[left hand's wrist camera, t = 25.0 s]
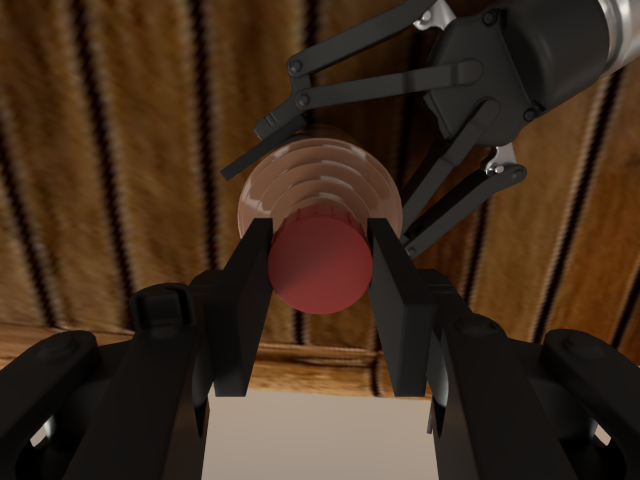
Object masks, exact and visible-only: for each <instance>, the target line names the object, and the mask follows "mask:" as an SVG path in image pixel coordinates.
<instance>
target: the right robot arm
mask: <svg viewBox="0 0 640 480" xmlns="http://www.w3.org/2000/svg"><path fill="white" fill-rule="evenodd" d="M409 27H410V28H411V29H412V30H413V31H414V32H415V33H422V32H424V31H426V30H428V29H433V30H435V31H436V32H437V33H438V35H437V37H436V39H435V42H434V44H433V46H432V49H431V51H430V53H429V56H428V58H427V60H426V63H425V65H424V67H423V68H422V69H416V70H411V71H406V72H401V73H396V74H390V75H384V76H378V77H372V78H366V79H360V80H354V81H348V82H342V83H336V84H330V85H325V86H319V87H313V88H312V85H311V81H310V77H309V76H311V75H313V74H315V73H317V72H319V71H322V70H324V69H326V68H328V67H330V66H333V65H335V64H337V63H339V62H341V61H343V60H346V59H348V58H350V57H352V56H354V55H356V54H359V53H361V52H363V51H365V50H367V49H370V48H372V47H374V46H376V45H378V44H380V43H383V42H385V41H387V40H389V39H391V38H393V37H395V36H397V35H399V34H401V33H402V32H404V31H405V30H406V29H408V28H409ZM639 56H640V0H495V1H494V2H492V3H491V4H489V5H488V6H486V7H485V8H484V9H482V10H481V11H479V12H478V13H476V14H474V15H471V16H462V17H458V18H456V16H455V15H454V13H453V12H452V10H451V9H450V7H449V6H448V4H447V3H446V1H445V0H406V1H405V2H404V3H403V4H401V5H399V6H397V7H395V8H392V9H390V10H388V11H386V12H384V13H382V14H380V15H378V16H375V17H373V18H371V19H369V20H367V21H365V22H363V23H361V24H359V25H356V26H354V27H352V28H350V29H348V30H346V31H344V32H342V33H339V34H337V35H335V36H333V37H331V38H329V39H327V40H325V41H322V42H320V43H318V44H316V45H314V46H312V47H310V48H308V49H306V50H303V51H301V52H299V53H297V54H295V55H293V56H291V57H290V58H289V59H288V61H287V71H288V73H289V77H290V81H291V85H292V93H291V96H290V97H289V99H288V100H286V101H285V102H284V103H282V104H281V105H280V106H278V107H277V108H276V109H274V110H273V111H271V112H270V113H269V114H267V115H266V116H265V117H263V118H262V119H261V120H259V121H258V122H257V123H256V125H255V127H254V128H253V130H254V131H255V133H256V134H257V135H258V137H259V138H260V140H261V141H262V142H261V143H259V144H258V145H256V146H255V147H254V148H252V149H251V150H249V151H248V152H247V153H245V154H244V155H242V156H241V157H240V158H238V159H237V160H235V161H234V162H233V163H231V164H230V165H228V166H227V167H226V168H224V169H223V170H222V171H220V173H221V174H222V176H223V177H224V178H225V180H226V181H228V180H229V179H231V178H232V177H234V176H235V175H236V174H238V173H239V172H241V171H242V170H244V169H245V168H246V167H248V166H249V165H251V164H252V163H253V162H255V161H256V160H258V159H259V158H261V157H262V156H263V155H265V154H266V153H268V152H269V151H270V150H272V149H273V148H275V147H276V146H278V145H279V144H280V143H282V142H283V141H284V140H286V139H288V138H289V137H290V136H292V135H293V134H295V133H296V132H297V131H299V130H300V129H302V128H303V127H305V126H306V125H307V124H308V121H307V119H306V118H305V116H304V115H303V113H305V112H306V111H307V110H309V109H314V108H320V107H327V106H333V105H339V104H345V103H351V102H357V101H363V100H369V99H375V98H381V97H387V96H393V95H399V94H405V93H411V92H416V97H415V99H416V101H417V103H418V105H419V107H420V108H421V109H422V110H423V111H424V112H425V113H426V114H427V116H428V119H429V124H430V128H431V130H432V132H433V134H434V136H435V137H437V138H436V140H435V141H434V143H433V144H432V145H431V147H430V149H429V152H428V155H427V156H426V157H425V159H424V160H423V162H422V163H421V164H420V166H419V167H418V169H417V170H416V172H415V173H414V174H413V176H412V177H411V179H410V180H409V181H408V183H407V184H406V186H405V187H404V188H403V190H402V191H401V193H400V194H399V195H400V198H401V204H402V213H403V221H402V230H401V234H400V238H399V240H400V242H401V244H402V245H403V247H404V249H405V250H406V252H407V254H408V256H409V257H410V259H414V258H416V257H417V256H419V255H420V254H421V253H422V252H424V251H425V250H426V249H427V248H428V247H430V246H431V245H432V244H433V243H434V242H436V241H437V240H438V239H439V238H441V237H442V236H443V235H444V234H445V233H447V232H448V231H449V230H450V229H452V228H453V227H454V226H455V225H456V224H458V223H459V222H460V221H461V220H462V219H464V218H465V217H466V216H467V215H469V214H470V213H471V212H472V211H473V210H475V209H476V208H477V207H478V206H480V205H481V204H482V203H483V202H484V201H486V200H487V199H488V198H489V197H490V196H492V195H493V194H494V193H495V192H498V191H500V190H503V189H505V188H507V187H510V186H512V185H515V184H517V183H519V182H521V181H523V180H524V179H525V177H526V175H527V170H526V168H525V167H524V166H522V165H519V164H517V162H516V158H515V154H514V150H513V146H512V141H513V140H514V139H515V138H516V137H517V135H518V134H519V132H520V131H521V130H522V129H523V127H524V126H526V125H527V124H528V123H530V122H531V121H533V120H535V119H537V118H539V117H540V116H542V115H544V114H546V113H547V112H549V111H550V110H552V109H554V108H555V107H557V106H559V105H560V104H562V103H564V102H565V101H567V100H568V99H570V98H572V97H573V96H575V95H577V94H578V93H580V92H582V91H583V90H585V89H586V88H588V87H590V86H591V85H592V84H594V83H595V82H596V81H597V80H598V79H599V78H603V77H605V76H608V75H610V74H612V73H613V72H615V71H616V70H618V69H620V68H621V67H623V66H624V65H626V64H628V63H629V62H631V61H632V60H634V59H636V58H637V57H639ZM473 146H485V147H491V152H490V154H489V156H488V157H486V158H485V159H484V160H483V161H482V162H481V163H480V169H478V170H476V171H475V172H473V173H471V174H470V175H469V176H467V177H466V178H465V179H464V180H462V181H461V182H460V183H459V184H458V185H457V186H455V187H454V188H453V189H452V190H451V191H450V192H448V193H447V194H446V195H445V196H444V197H443V198H441V199H440V200H439V201H438V202H437V203H436V204H434V205H433V206H432V207H431V208H430V209H429V210H427V211H426V212H425V213H424V214H423V215H422V216H420V217H419V218H418V219H417V220H416V221H415V222H413V221H414V220H415V218H416V217H417V216H418V214H419V213H420V212H421V210H422V209H423V208H424V206H425V205H426V204H427V202H428V201H429V200H430V198H431V197H432V196H433V194H434V193H435V192H436V190H437V189H438V188H439V186H440V185H441V184H442V182H443V181H444V180H445V178H446V177H447V176H448V174H449V173H450V172H451V170H452V169H453V168H454V167H456V166H458V165H459V164H460V163H461V162H462V161H463V159H464V158H465V157H466V155H467V154H468V153H469V151H470V150H471V149H472V147H473ZM412 222H413V223H412Z"/></svg>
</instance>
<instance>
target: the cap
mask: <svg viewBox="0 0 640 480" xmlns="http://www.w3.org/2000/svg"><path fill="white" fill-rule="evenodd" d="M270 244H271V248H270V251H269V254H268V259H267V263H268V277H269V281H270V283H271V285H272V287H273V289H274V290H275V292H276V293H277V295H278V296H279V297H280V298H281V299H282V300H283V301H284V302H286V303H287V304H288V305H290V306H292V307H293V308H295V309H298V310H300V311H303V312H307V313H312V314H328V313H334V312H337V311H340V310H343V309H345V308H347V307H349V306H350V305H352V304H353V303H355V302H356V301H357V300H358V299H359V298H360V297H361V296H362V295H363V294H364V292H365V291H366V289H367V288H368V286H369V284H370V281H371V278H372V267H373V257H372V253H371V252H372V250H371V247H370V244H369V241H368V239H367V238H366V235H365V233H364V230H363V227H362V224H361V223H360V224H359V223H358V222H357V221H356V219H355V218H353V217H352V216H351V215H350V212H348V213H347V212H345V211H343V210H341V209H339V208H336V207H334V205H332V206H328V205H317V204H314V205H312V206H307V207H304V208H301V209H300V208H298V209H297V211H295V212H293V213H292V214H290V215H289V216H288V217H287V218H284V219H283V222H282V223H281V225H280V226H279V228H278V230H277V231H275V232H274V235H273V238H272V240H271V243H270Z"/></svg>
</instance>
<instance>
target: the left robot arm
mask: <svg viewBox="0 0 640 480" xmlns="http://www.w3.org/2000/svg"><path fill="white" fill-rule="evenodd" d="M273 235H274V233H273V218H254V219H253V221H252V222H251V224H250V226H249V227H248V229H247V231H246V232H245V234H244V236H243V237H242V239H241V241H240V242H239V244H238V246H237V248H236V249H235V251H234V253H233V254H232V256H231V258H230V259H229V261H228V263H227V264H226V266H225V268H224V269H223V270H206V271H204V272H202V273H201V274H199V275H198V276H196V277H195V278H194V279H193V280H192V282H191V283H190V284H189V286H187V285H185V284H181V283H163V284H157V285H153V286H150V287H147V288H144V289H142V290H140V291H138V292H137V293H135V294H134V295H133V296H132V297H131V298H130V299H129V304H130V309H131V313H132V318H133V322H134V326H135V331H136V332H135V334H134V336H133V338H132V340H128V341H124V342H119V343H114V344H108V345H103V346H98V344H97V341H96V337H95V336H94V335H93V334H92V333H91V332H88V331H82V330H78V331H66V332H62V333H58V334H54V335H52V336H51V337H48V338H46V339H44V340H41V341H40V342H38V343H36V344H35V345H33V346H32V347H30V348H29V349H27V350H26V351H25V352H23V353H22V354H21V355H20V356H18V357H17V358H16V359H14V360H13V361H12V362H11V363H9V364H8V365H7V366H6V367H4V368H3V369H2V370H0V480H201V477H202V469H203V461H204V453H205V445H206V436H207V428H208V420H209V412H210V409H209V402H208V393H209V390H210V388H211V385H212V383H213V381H214V388H215V395H216V397H245V396H246V392H247V388H248V384H249V380H250V376H251V373H252V369H253V365H254V361H255V357H256V353H257V349H258V345H259V341H260V338H261V334H262V330H263V326H264V322H265V318H266V314H267V310H268V307H269V303H270V299H271V295H272V291H273V287H272V285H271V283H270V281H269V277H268V263H267V259H268V254H269V251H270V248H271V244H270V243H271V240H272V238H273ZM366 238H367V239H368V241H369V244H370V247H371V250H372V252H371V253H372V257H373V267H372V278H371V281H370V284H369V286H368V288H367V290H368V294H369V298H370V302H371V306H372V310H373V313H374V317H375V321H376V325H377V329H378V333H379V337H380V341H381V344H382V348H383V352H384V356H385V360H386V364H387V368H388V372H389V375H390V379H391V383H392V387H393V391H394V395H395V397H425V390H426V383H427V380H428V383H429V385H430V388H431V390H432V393H433V395H432V402H431V408H430V415H429V421H428V428H427V433H429V434H431V433H432V428H433V436H434V444H435V452H436V460H437V468H438V476H439V480H640V368H639V367H638V366H637V365H635V364H634V363H633V362H631V361H630V360H629V359H627V358H626V357H625V356H624V355H622V354H621V353H620V352H618V351H617V350H616V349H615V348H613V347H612V346H610V345H609V344H607V343H606V342H604V341H602V340H601V339H599V338H596V337H594V336H592V335H590V334H588V333H585V332H582V331H580V332H579V331H578V330H573V329H571V330H570V329H555V330H550V331H549V332H548V333H547V334H546V335H545V338H544V342H543V345H540V344H535V343H530V342H524V341H519V340H515V339H511V338H508V337H507V335H506V333H505V331H504V330H503V329H502V328H501V326H500V325H499V324H497V323H496V322H494V321H493V320H491V319H490V318H487V317H485V316H482V315H480V314H475V313H473V312H472V311H471V310H470V308H469V307H468V306H467V304H466V303H465V301H464V300H463V299H462V297H461V296H460V295H459V293H457V291H456V289H455V288H454V287H453V286H452V284H451V283H450V281H449V280H448V279H447V277H446V276H445V275H443V274H441V273H440V272H438V271H437V270H435V269H416V267H415V266H414V264H413V262H412V261H411V259H410V257H409V256H408V254H407V252H406V250H405V249H404V247H403V245H402V244H401V242H400V240H399V239H398V237H397V235H396V234H395V232H394V230H393V229H392V227H391V225H390V224H389V222H388V220H387V218H367V237H366ZM598 424H599V425H600V426H601V427H602V428H603V429H604V430H605V432H606V433H607V434H608V435H609V436H610V437H611V440H610V442H609V444H608V445H607V446H606V445H605V444H604V443H603V442H601V441H600V440H599V438H598V437H597V436H596V435H595V431H596V428H597V426H598ZM42 426H43V427H44V430H45V433H46V436H45V437H44V439H43V440H42V441H41V442H40V443H39V444H37V445H36V446H35V447H33V446H32V444H31V441H30V439H31V438H32V437H33V436H34V435H35V433H36V432H37V431H38V430H39V429H40V428H41V427H42Z"/></svg>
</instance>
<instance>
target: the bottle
mask: <svg viewBox="0 0 640 480" xmlns="http://www.w3.org/2000/svg"><path fill="white" fill-rule="evenodd" d="M314 204H317V205H328V206H332V205H334V207H336V208H339V209H341V210H343V211H345V212H347V213H348V212H350V215H351V216H352V217H353V218H355V219H356V221H357V222H358V223H359V224H360V223H361V224H362V227H363V230H364V233H365V235H366V237H367V218H387V220H388V222H389V224H390V225H391V227H392V229H393V230H394V232H395V234H396V235H397V237H398V239H399V238H400V234H401V230H402V221H403V213H402V204H401V198H400V195H399V192H398V189H397V187H396V184H395V182H394V180H393V178H392V177H391V175H390V174H389V172H388V171H387V169H386V168H385V167H384V166H383V165H382V164H381V163H380V162H379V161H378V160H377V159H376V158H375V157H374V156H373V155H372V154H371V153H370V152H369V151H367V150H366V149H365V148H364V147H363V146H362V145H361V144H360V143H359V142H358V141H357V140H355V139H354V138H353V137H352V136H351V135H350V134H349V133H347V132H346V131H344V130H342V129H340V128H338V127H335V126H332V125H326V124H314V125H309V126H305V127H303V128H302V129H300V130H299V131H297V132H296V133H295V134H293V135H292V136H290V137H289V138H288V139H286V140H284V141H283V142H282V143H280V144H279V145H278V146H277V147H276V148H275V149H274V150H273V151H272V152H271V153H269V154H268V155H267V156H266V157H265V158H264V159H263V160H262V161H261V162H260V163H259V164H258V165H257V166H256V167H255V169H254V170H253V171H252V173H251V174H250V176H249V177H248V179H247V181H246V183H245V185H244V187H243V190H242V193H241V196H240V200H239V205H238V228H239V233H240V237H241V239H242V237H243V236H244V234H245V232H246V231H247V229H248V227H249V226H250V224H251V222H252V221H253V219H254V218H273V233H274V232H275V231H277V230H278V228H279V226H280V225H281V223H282V222H283V219H284V218H287V217H288V216H289V215H290V214H292V213H293V212H295V211H297V209H298V208H300V209H301V208H304V207H307V206H312V205H314Z"/></svg>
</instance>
